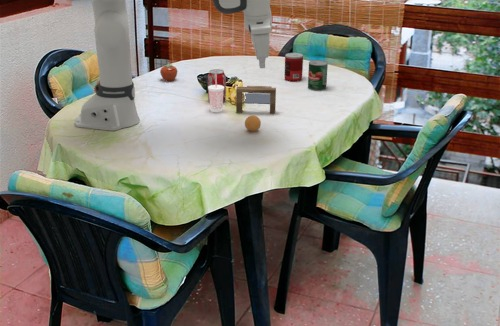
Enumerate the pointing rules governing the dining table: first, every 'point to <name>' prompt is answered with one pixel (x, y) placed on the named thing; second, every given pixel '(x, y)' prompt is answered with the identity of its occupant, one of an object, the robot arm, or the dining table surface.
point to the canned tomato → (317, 75)
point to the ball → (252, 123)
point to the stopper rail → (260, 86)
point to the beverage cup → (216, 96)
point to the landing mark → (257, 98)
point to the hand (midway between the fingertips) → (260, 63)
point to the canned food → (293, 67)
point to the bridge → (255, 90)
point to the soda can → (220, 80)
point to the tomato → (168, 72)
